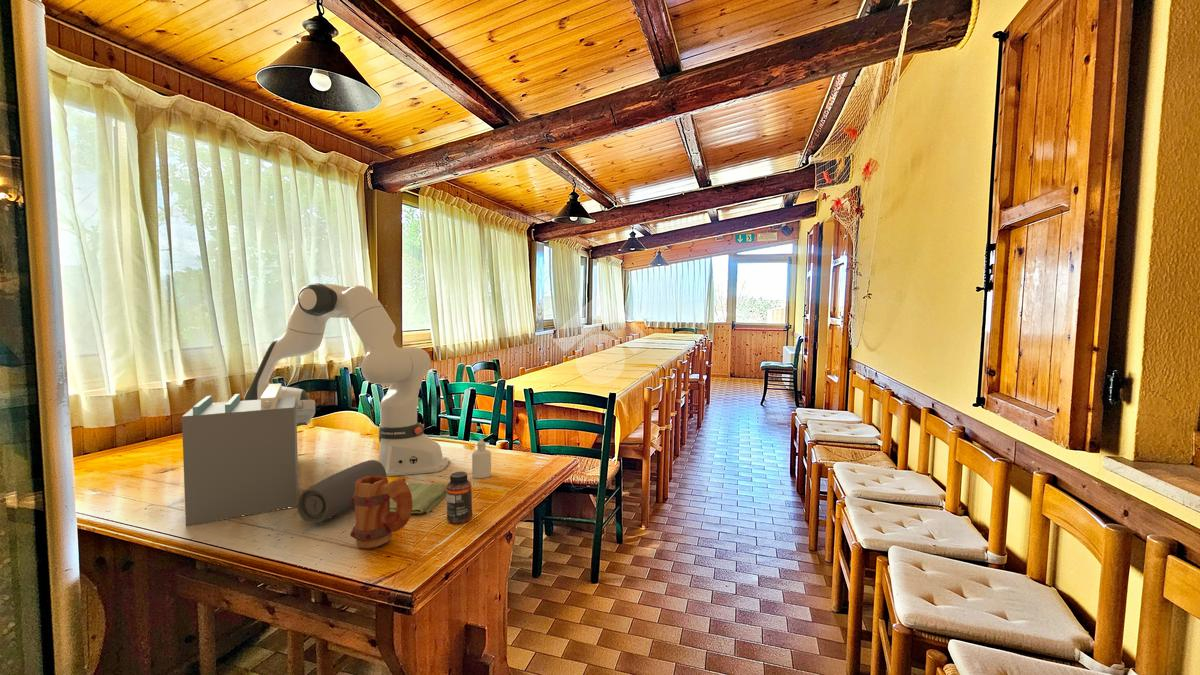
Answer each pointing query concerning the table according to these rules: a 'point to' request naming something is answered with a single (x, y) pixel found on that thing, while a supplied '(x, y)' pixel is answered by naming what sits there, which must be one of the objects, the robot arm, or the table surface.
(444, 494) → the washcloth
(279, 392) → the bar
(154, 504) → the table surface
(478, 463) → the eye dropper bottle
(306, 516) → the bluetooth speaker
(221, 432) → the stand
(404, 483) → the mug
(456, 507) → the supplement bottle
